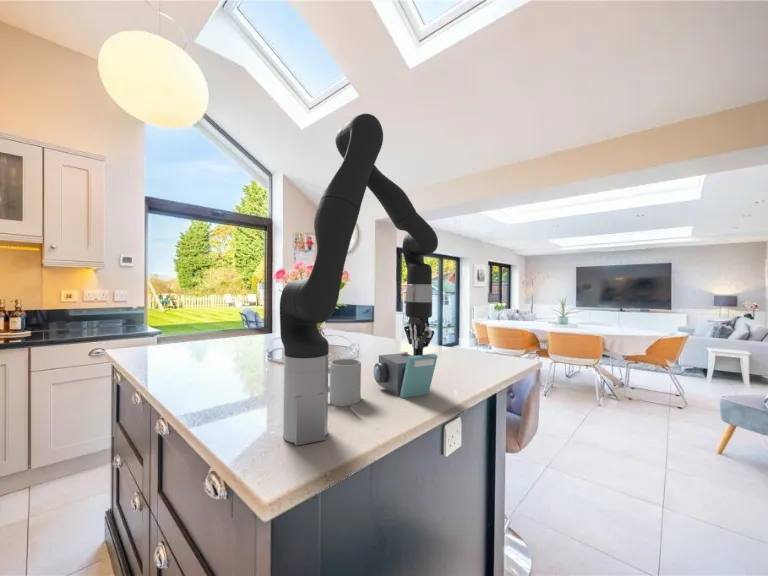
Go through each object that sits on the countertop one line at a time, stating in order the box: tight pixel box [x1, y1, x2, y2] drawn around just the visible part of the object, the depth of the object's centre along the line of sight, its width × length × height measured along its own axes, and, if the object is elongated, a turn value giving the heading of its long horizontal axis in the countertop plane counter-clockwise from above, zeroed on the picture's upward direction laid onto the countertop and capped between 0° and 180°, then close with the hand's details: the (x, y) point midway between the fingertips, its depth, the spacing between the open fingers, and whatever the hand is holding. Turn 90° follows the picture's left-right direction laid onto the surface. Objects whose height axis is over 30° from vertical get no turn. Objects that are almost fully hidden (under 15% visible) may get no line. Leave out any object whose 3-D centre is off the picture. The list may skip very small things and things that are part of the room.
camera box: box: [373, 351, 413, 397], centre depth 102 cm, size 13×13×11 cm
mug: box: [328, 358, 362, 408], centre depth 92 cm, size 12×8×11 cm
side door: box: [399, 353, 438, 399], centre depth 93 cm, size 2×9×13 cm, turn 116°
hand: (417, 361), depth 94 cm, fingers closed
